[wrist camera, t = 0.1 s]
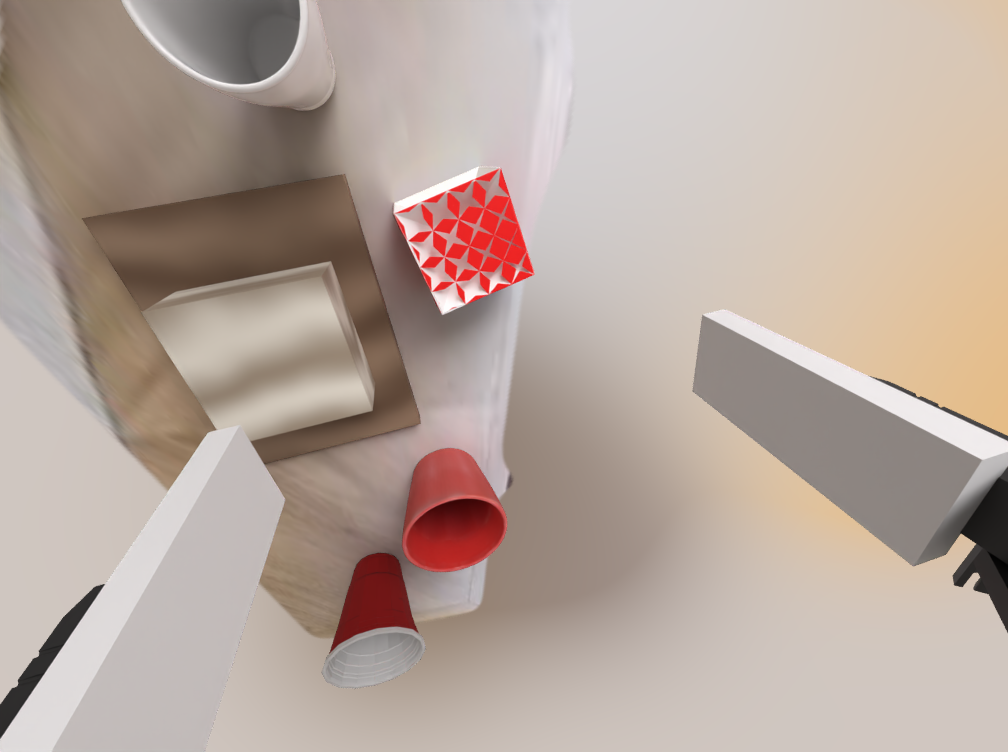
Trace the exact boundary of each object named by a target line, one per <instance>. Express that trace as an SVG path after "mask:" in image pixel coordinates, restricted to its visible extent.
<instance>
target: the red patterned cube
mask: <svg viewBox="0 0 1008 752" xmlns="http://www.w3.org/2000/svg"><path fill="white" fill-rule="evenodd" d="M393 211H394V212H393V214H394V217H395V219H396V221H397V224H398V226H399V229H400V230H401V232H402V234H404V235H403V236H404V238H405V239H406V241H407V243H408V245H409V248H410V250H411V253H412V255H413V257H414V259H415V260H416V262H417V264H418V266H419V268H420V270H421V273H422V275H423V278H424V280H425V282H426V284H427V285H428V287H429V289H430V291H431V293H432V296H433V298H434V301H435V303H436V305H437V307H438V309H439V310H440V312H441V314H442V315H444V314H446V313H448V312H450V311H453V310H455V309H457V308H460V307H462V306H464V305H466V304H469V303H471V302H473V301H476V300H478V299H480V298H482V297H485V296H487V295H489V294H491V293H494V292H496V291H498V290H501V289H503V288H505V287H507V286H510V285H512V284H514V283H516V282H519V281H521V280H523V279H526V278H528V277H530V276H532V275H534V274H535V273H534V270H533V267H532V264H531V261H530V257H529V254H528V251H527V248H526V245H525V242H524V239H523V236H522V233H521V229H520V226H519V223H518V220H517V217H516V214H515V211H514V208H513V205H512V201H511V198H510V195H509V192H508V189H507V186H506V183H505V180H504V177H503V173H502V170H501V168H500V167H486V166H479V167H477V168H475V169H472V170H470V171H468V172H465V173H463V174H461V175H458V176H456V177H454V178H451V179H449V180H447V181H444V182H442V183H440V184H437V185H435V186H433V187H430V188H428V189H426V190H424V191H421V192H419V193H417V194H414V195H412V196H410V197H407V198H405V199H403V200H400V201H398V202H396V203H394V210H393Z"/></svg>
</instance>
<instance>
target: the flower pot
mask: <svg viewBox="0 0 1008 752" xmlns="http://www.w3.org/2000/svg"><path fill="white" fill-rule="evenodd" d="M506 530H507V517H506V514H505V512H504V509H503V507H502V505H501V503H500V501H499V500H498V498H497V496H496V494H495V493H494V491H493V489H492V487H491V486H490V484H489V482H488V481H487V479H486V477H485V476H484V474H483V473H482V471H481V470H480V468H479V466H478V465H477V463H476V462H475V460H474V459H473V457H472V456H471V455H469V454H468V453H466V452H465V451H462V450H459V449H454V448H447V449H440V450H437V451H435V452H433V453H430V454H428V455H426V456H425V457H424V458H423V459H422V460H421V461H420V462H419V463H418V464H417V466H416V468H415V470H414V473H413V478H412V483H411V488H410V492H409V498H408V503H407V509H406V516H405V522H404V528H403V537H402V548H403V551H404V554H405V556H406V557H407V559H408V560H409V561H410V562H411V563H412V564H414V565H415V566H417V567H419V568H421V569H424V570H428V571H433V572H451V571H457V570H461V569H464V568H467V567H470V566H472V565H475V564H477V563H479V562H480V561H482V560H484V559H485V558H487V557H488V556H489V555H490V554H492V553H493V552H494V551H495V550H496V549H497V548H498V546H499V545H500V544H501V542H502V540H503V538H504V536H505V533H506Z"/></svg>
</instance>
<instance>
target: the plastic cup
mask: <svg viewBox="0 0 1008 752" xmlns="http://www.w3.org/2000/svg"><path fill="white" fill-rule="evenodd" d="M425 649H426V648H425V643H424V639H423V637H422V636H421V635H420V634H419V633H418V631H417V628H416V626H415V624H414V620H413V618H412V614H411V610H410V605H409V601H408V596H407V592H406V587H405V583H404V580H403V576H402V571H401V566H400V564H399V561H398V559H397V558H396V557H395V556H393V555H390V554H387V553H376V554H372V555H369V556H367V557H365V558H363V559H361V561H360V562H359V563H358V564H357V566H356V568H355V570H354V573H353V577H352V581H351V584H350V586H349V589H348V592H347V596H346V599H345V603H344V607H343V610H342V614H341V618H340V621H339V625H338V629H337V631H336V634H335V637H334V641H333V644H332V647H331V650H330V653H329V655H328V656H327V657H326V660H325V663H324V667H323V670H322V675H323V677H324V678H325V680H326V682H327V683H330V684H332V685H334V686H336V687H341V688H362V687H367V686H375V685H377V684H380V683H383V682H386V681H389V680H392V679H394V678H396V677H398V676H400V675H401V674H403V673H405V672H407V671H408V670H410V669H411V668H412V667H413V666H414V665H415V664H416V663H417V662H418V661H419V660H421V658H422V655H423V653H424V651H425Z"/></svg>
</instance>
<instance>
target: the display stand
mask: <svg viewBox="0 0 1008 752" xmlns="http://www.w3.org/2000/svg"><path fill="white" fill-rule="evenodd" d="M82 220H83V221H84V223H85V224H86V226H87V227H88V229H89V230H90V232H91V233H92V235H93V237H94V238H95V240H96V241H97V243H98V244H99V246H100V247H101V249H102V250H103V252H104V254H105V255H106V257H107V258H108V260H109V261H110V263H111V264H112V266H113V268H114V269H115V271H116V272H117V274H118V275H119V277H120V278H121V280H122V281H123V283H124V285H125V286H126V288H127V289H128V291H129V292H130V294H131V295H132V297H133V298H134V300H135V302H136V303H137V305H138V306H139V308H140V309H141V311H142V312H141V313H142V315H143V317H144V318H145V320H146V321H147V323H148V324H149V326H150V327H151V329H152V330H153V332H154V334H155V335H156V337H157V338H158V340H159V341H160V343H161V344H162V346H163V347H164V349H165V350H166V352H167V354H168V355H169V357H170V358H171V360H172V361H173V363H174V364H175V366H176V367H177V369H178V371H179V372H180V374H181V375H182V377H183V378H184V380H185V381H186V383H187V384H188V386H189V388H190V389H191V391H192V392H193V394H194V395H195V397H196V398H197V400H198V401H199V403H200V405H201V406H202V408H203V409H204V411H205V412H206V414H207V415H208V417H209V418H210V420H211V421H212V423H213V425H214V426H215V428H216V429H217V430H220V429H225V428H229V427H233V426H237V425H241V427H242V429H243V430H244V432H245V434H246V435H247V437H248V439H249V440H250V442H251V444H252V445H253V447H254V449H255V450H256V452H257V454H258V455H259V457H260V458H261V460H262V462H263V463H264V464H266V463H270V462H274V461H278V460H282V459H285V458H289V457H293V456H297V455H301V454H305V453H309V452H313V451H317V450H320V449H324V448H328V447H332V446H336V445H340V444H344V443H348V442H351V441H355V440H359V439H363V438H367V437H371V436H375V435H379V434H382V433H386V432H390V431H394V430H398V429H402V428H406V427H410V426H414V425H417V424H421V423H420V415H419V412H418V409H417V405H416V402H415V399H414V396H413V392H412V389H411V386H410V383H409V380H408V376H407V373H406V370H405V367H404V363H403V360H402V357H401V354H400V351H399V347H398V344H397V341H396V338H395V334H394V331H393V328H392V325H391V322H390V318H389V315H388V312H387V309H386V305H385V302H384V299H383V296H382V293H381V289H380V286H379V283H378V280H377V276H376V273H375V270H374V267H373V264H372V260H371V257H370V254H369V251H368V247H367V244H366V241H365V238H364V235H363V231H362V228H361V225H360V222H359V219H358V215H357V212H356V209H355V206H354V202H353V199H352V196H351V193H350V190H349V186H348V183H347V180H346V177H345V174H343V175H337V176H331V177H325V178H319V179H313V180H307V181H302V182H296V183H290V184H284V185H278V186H272V187H266V188H260V189H254V190H248V191H242V192H236V193H230V194H224V195H218V196H212V197H206V198H200V199H194V200H188V201H182V202H176V203H170V204H165V205H159V206H153V207H147V208H141V209H135V210H129V211H123V212H117V213H111V214H105V215H99V216H93V217H88V218H83V219H82Z"/></svg>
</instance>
